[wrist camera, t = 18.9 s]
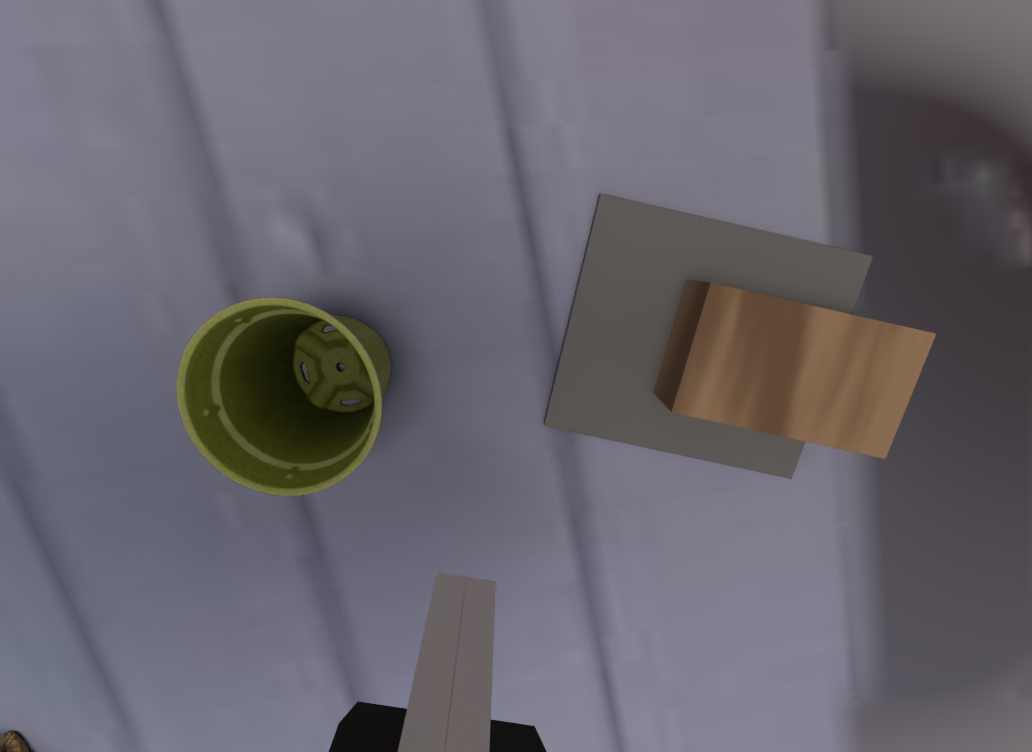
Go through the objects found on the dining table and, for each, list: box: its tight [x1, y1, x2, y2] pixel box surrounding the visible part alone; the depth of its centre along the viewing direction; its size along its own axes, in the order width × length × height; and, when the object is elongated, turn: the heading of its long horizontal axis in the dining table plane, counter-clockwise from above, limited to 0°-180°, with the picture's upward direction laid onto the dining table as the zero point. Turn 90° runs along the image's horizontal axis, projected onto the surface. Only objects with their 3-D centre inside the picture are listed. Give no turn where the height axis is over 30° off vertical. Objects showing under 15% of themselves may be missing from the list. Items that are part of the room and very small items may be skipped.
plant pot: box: [177, 297, 391, 496], centre depth 28 cm, size 9×9×9 cm
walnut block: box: [654, 279, 936, 459], centre depth 29 cm, size 4×7×12 cm
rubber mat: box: [544, 194, 872, 479], centre depth 31 cm, size 16×14×1 cm
